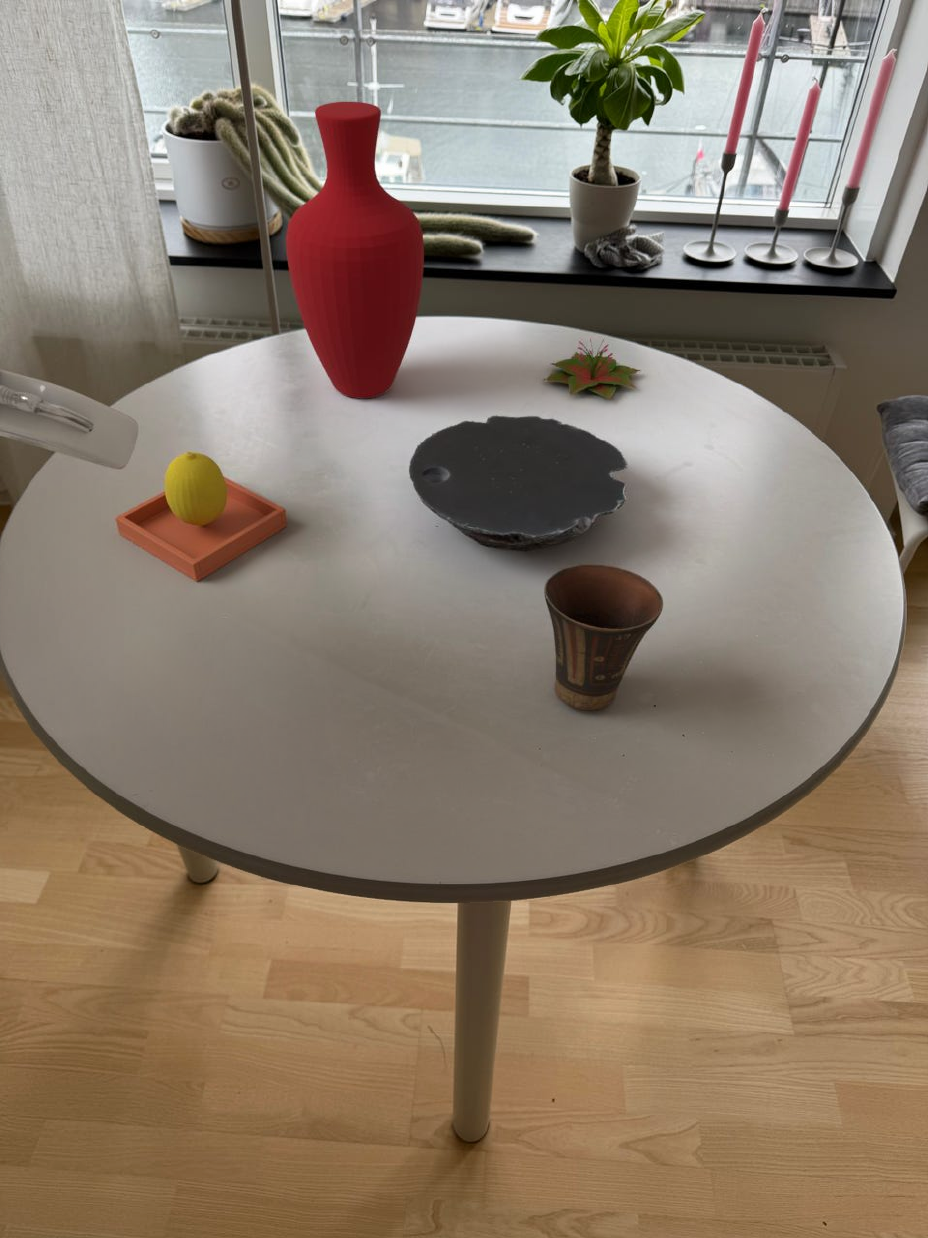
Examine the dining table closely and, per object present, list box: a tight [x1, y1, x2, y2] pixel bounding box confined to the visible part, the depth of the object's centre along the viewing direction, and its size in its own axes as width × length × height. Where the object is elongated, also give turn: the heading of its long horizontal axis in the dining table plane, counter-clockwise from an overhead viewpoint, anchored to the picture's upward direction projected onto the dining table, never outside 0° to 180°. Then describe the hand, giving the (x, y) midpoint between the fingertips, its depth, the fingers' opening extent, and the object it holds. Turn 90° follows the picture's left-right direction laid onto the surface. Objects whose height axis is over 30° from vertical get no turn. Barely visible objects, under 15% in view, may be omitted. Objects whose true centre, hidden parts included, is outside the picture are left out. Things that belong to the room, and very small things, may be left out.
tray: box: [114, 475, 288, 583], centre depth 92 cm, size 11×11×2 cm
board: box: [408, 414, 629, 552], centre depth 94 cm, size 22×22×5 cm
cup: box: [543, 563, 664, 711], centre depth 75 cm, size 9×9×10 cm
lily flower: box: [542, 338, 642, 401], centre depth 115 cm, size 12×12×5 cm
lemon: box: [164, 451, 227, 526], centre depth 90 cm, size 6×6×8 cm
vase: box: [285, 101, 425, 399], centre depth 105 cm, size 15×15×30 cm
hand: (70, 436), depth 73 cm, fingers open, 8 cm apart
